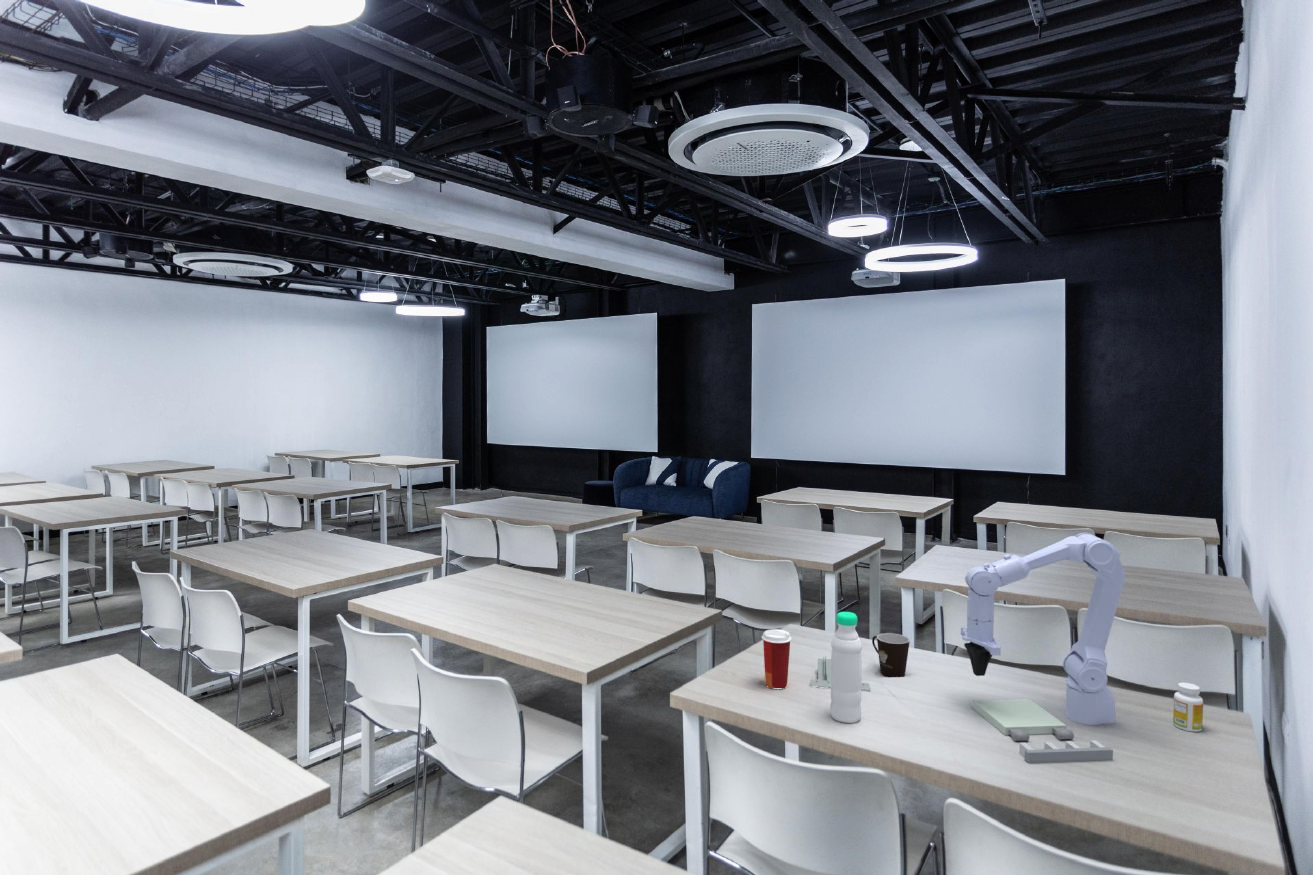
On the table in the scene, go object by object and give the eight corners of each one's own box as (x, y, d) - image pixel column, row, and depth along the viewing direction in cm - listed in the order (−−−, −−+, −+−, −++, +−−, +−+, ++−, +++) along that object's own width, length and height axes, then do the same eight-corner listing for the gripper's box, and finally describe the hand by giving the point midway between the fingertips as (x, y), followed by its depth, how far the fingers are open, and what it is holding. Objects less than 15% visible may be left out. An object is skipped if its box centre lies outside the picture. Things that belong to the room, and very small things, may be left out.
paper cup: (795, 683, 187) (795, 631, 187) (784, 693, 181) (784, 639, 180) (768, 677, 192) (768, 626, 191) (756, 686, 185) (756, 634, 184)
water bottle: (863, 714, 169) (864, 611, 168) (858, 726, 162) (859, 619, 161) (833, 708, 172) (834, 607, 171) (827, 720, 165) (828, 615, 164)
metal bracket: (810, 650, 197) (866, 654, 194) (810, 667, 199) (865, 671, 196) (811, 683, 184) (870, 688, 181) (810, 702, 185) (869, 706, 182)
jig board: (1036, 711, 170) (1036, 697, 170) (1112, 767, 144) (1112, 749, 144) (963, 713, 169) (964, 699, 169) (1027, 770, 143) (1028, 752, 143)
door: (1028, 706, 170) (1028, 698, 170) (1075, 740, 153) (1076, 732, 152) (972, 707, 169) (972, 700, 169) (1013, 742, 152) (1013, 734, 152)
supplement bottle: (1199, 724, 163) (1201, 683, 163) (1204, 734, 159) (1205, 692, 158) (1171, 719, 166) (1172, 679, 165) (1174, 729, 161) (1176, 687, 161)
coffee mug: (913, 680, 190) (914, 643, 189) (881, 680, 190) (882, 643, 189) (899, 664, 201) (900, 629, 201) (869, 664, 201) (869, 629, 201)
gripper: (949, 609, 174) (948, 663, 175) (980, 628, 160) (978, 687, 160) (976, 609, 175) (975, 663, 175) (1010, 627, 160) (1008, 686, 161)
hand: (979, 674), depth 168 cm, fingers closed
